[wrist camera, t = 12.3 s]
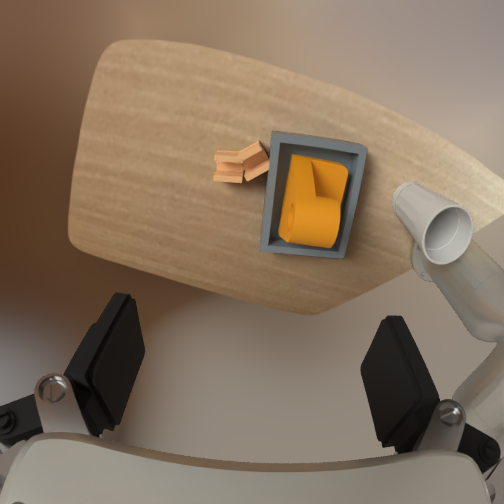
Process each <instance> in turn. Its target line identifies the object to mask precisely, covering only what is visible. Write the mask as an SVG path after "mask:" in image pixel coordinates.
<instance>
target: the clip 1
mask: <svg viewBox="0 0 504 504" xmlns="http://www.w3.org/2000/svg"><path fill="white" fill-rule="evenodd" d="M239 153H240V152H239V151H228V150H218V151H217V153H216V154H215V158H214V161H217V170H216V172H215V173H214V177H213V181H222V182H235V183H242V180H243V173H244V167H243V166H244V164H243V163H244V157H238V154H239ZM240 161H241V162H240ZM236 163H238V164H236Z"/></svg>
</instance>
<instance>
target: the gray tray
mask: <svg viewBox="0 0 504 504" xmlns="http://www.w3.org/2000/svg"><path fill="white" fill-rule="evenodd" d="M292 154H296V155H302V156H308V157H313V158H319V159H324V160H329V161H334V162H339V163H341V164H342V165H343V166H345V167H346V168H347V170H348V177H347V181H346V185H345V189H344V194H343V198H342V202H341V206H340V224H339V230H338V234H337V237H336V240H335V242H334V244H333V246H332V247H331V248H324V247H317V246H310V245H303V244H296V243H288V242H286V241H285V240H284V239H282V238H281V237H280V236H279V232H278V229H279V223H280V218H281V208H282V203H283V197H284V192H285V186H286V181H287V175H288V172H289V168H290V162H291V157H292ZM366 154H367V147H365V146H363V145H361V144H359V143H354V142H348V141H343V140H337V139H331V138H324V137H318V136H311V135H304V134H296V133H288V132H279V131H272V133H271V143H270V152H269V162H270V163H269V170H268V172H267V181H266V191H265V200H264V209H263V219H262V228H261V237H260V251H262V252H273V253H284V254H296V255H307V256H318V257H329V258H340V259H344V256H345V252H346V248H347V244H348V240H349V236H350V231H351V227H352V223H353V218H354V214H355V209H356V205H357V200H358V195H359V191H360V186H361V181H362V175H363V170H364V165H365V159H366Z"/></svg>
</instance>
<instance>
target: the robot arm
mask: <svg viewBox="0 0 504 504" xmlns="http://www.w3.org/2000/svg"><path fill="white" fill-rule="evenodd" d="M411 261H412V266H413V268H414V270H415V272H416V273H417V275H418V276H419V277H420V278H422V279H424V280H426V281H429V282H435V284H436V285H437V286H438V288H439V289H440V291H441V292H442V293H443V295H444V296H445V298H446V299H447V300H448V302H449V303H450V305H451V306H452V308H453V309H454V311H455V312H456V314H457V315H458V317H459V318H460V320H461V321H462V322H463V324H464V325H465V327H466V328H467V330H468V331H469V332H470V333H471V335H472V336H473V337H475V338H477V339H479V340H481V341H486V342H497V345H496V347H495V348H494V349H493V351H492V352H491V353H490V354H489V356H488V357H487V358H486V359H485V360H484V361H483V362H482V363H481V365H480V366H479V367H478V368H477V369H476V370H475V371H474V372H473V373H472V374H471V375H470V376H469V377H468V378H467V379H466V380H465V381H464V382H463V383H462V384H461V385H460V386H459V387H458V389H457V390H456V391H455V393H454V395H453V397H452V400H451V399H445V400H442V401H440V399H439V395H438V392H437V390H436V387H435V385H434V383H433V380H432V378H431V376H430V374H429V371H428V369H427V367H426V364H425V362H424V360H423V358H422V356H421V354H420V352H419V350H418V347H417V345H416V343H415V341H414V339H413V337H412V335H411V333H410V331H409V329H408V327H407V325H406V323H405V321H404V319H403V317H402V316H387V317H386V319H383V320H382V321H381V323H380V325H379V328H378V330H377V332H376V335H375V337H374V339H373V341H372V344H371V346H370V348H369V350H368V352H367V354H366V356H365V358H364V360H363V362H362V365H361V376H362V379H363V383H364V387H365V391H366V394H367V398H368V402H369V406H370V410H371V414H372V418H373V422H374V426H375V431H376V435H377V439H378V440H379V441H381V442H382V447H383V448H385V447H391V446H394V447H395V453H394V455H390V456H383V457H376V458H367V459H359V460H350V461H338V462H323V463H300V464H299V463H297V464H296V463H295V464H294V463H293V464H279V463H250V462H234V461H223V460H214V459H205V458H197V457H190V456H184V455H177V454H172V453H166V452H161V451H156V450H151V449H146V448H141V447H137V446H132V445H128V444H124V443H120V442H116V441H112V440H108V439H103V438H102V437H101V435H100V434H102V433H103V430H104V428H105V429H108V430H111V431H113V430H114V428H115V425H119V424H120V422H121V419H122V416H123V413H124V411H125V408H126V405H127V402H128V399H129V396H130V393H131V390H132V387H133V385H134V382H135V379H136V376H137V374H138V371H139V368H140V366H141V363H142V360H143V358H144V354H145V347H144V342H143V338H142V333H141V328H140V322H139V317H138V312H137V306H136V301H135V299H132V298H131V296H130V294H123V293H115V294H114V295H113V296H112V298H111V300H110V301H109V303H108V304H107V306H106V308H105V309H104V311H103V313H102V314H101V316H100V317H99V319H98V321H97V322H96V323H94V324H92V325H91V327H90V329H89V330H88V332H87V333H86V335H85V337H84V338H83V340H82V342H81V344H80V345H79V347H78V349H77V351H76V352H75V354H74V356H73V358H72V360H71V361H70V363H69V365H68V367H67V369H66V370H65V372H64V374H63V375H62V374H59V373H50V374H47V375H45V376H43V377H42V378H40V380H39V381H38V382H37V383H36V386H35V389H34V394H32V395H29V396H26V397H24V398H21V399H19V400H16V401H13V402H11V403H8V404H5V405H3V406H0V504H504V269H503V268H501V266H500V265H499V264H498V263H497V262H496V261H494V259H493V258H491V257H490V256H489V255H488V254H487V253H486V252H485V251H484V250H483V249H482V248H481V247H480V246H479V245H477V243H475V242H474V241H473V240H472V239H471V241H470V244H469V245H468V247H467V249H466V250H465V252H464V253H463V254H462V255H461V256H460V257H459V258H457V259H456V260H454V261H453V262H450V263H448V264H441V265H440V264H435V263H432V262H431V261H429V260H428V259H427V257H426V256H425V254H424V253H423V251H422V250H421V248H420V247H419V245H418V244H417V242H416V241H414V244H413V247H412V252H411Z"/></svg>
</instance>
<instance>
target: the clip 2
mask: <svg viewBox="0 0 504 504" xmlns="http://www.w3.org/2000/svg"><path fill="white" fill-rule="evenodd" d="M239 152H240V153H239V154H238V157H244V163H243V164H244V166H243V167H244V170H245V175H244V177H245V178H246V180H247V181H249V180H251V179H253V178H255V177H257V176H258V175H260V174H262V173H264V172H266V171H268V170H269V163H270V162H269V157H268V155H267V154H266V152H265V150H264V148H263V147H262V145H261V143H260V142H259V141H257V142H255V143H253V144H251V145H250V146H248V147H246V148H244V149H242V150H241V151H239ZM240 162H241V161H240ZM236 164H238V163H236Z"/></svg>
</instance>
